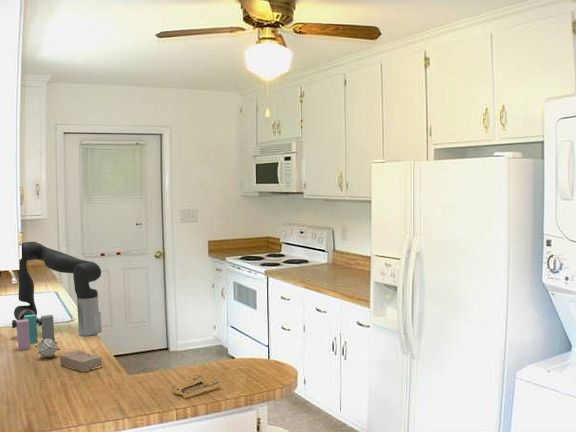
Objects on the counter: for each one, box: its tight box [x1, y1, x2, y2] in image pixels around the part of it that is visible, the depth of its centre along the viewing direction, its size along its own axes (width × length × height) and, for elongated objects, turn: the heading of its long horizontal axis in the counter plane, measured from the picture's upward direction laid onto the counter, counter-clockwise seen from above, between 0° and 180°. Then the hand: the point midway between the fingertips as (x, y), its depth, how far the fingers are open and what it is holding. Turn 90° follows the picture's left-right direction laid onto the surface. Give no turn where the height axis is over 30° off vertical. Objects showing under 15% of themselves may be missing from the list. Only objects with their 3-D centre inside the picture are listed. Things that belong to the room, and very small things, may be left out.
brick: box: [59, 349, 103, 371], centre depth 219 cm, size 17×8×5 cm, turn 52°
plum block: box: [16, 319, 31, 351], centre depth 248 cm, size 4×4×12 cm
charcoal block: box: [40, 314, 56, 342], centre depth 255 cm, size 4×4×12 cm
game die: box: [34, 337, 61, 360], centre depth 232 cm, size 9×8×10 cm
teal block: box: [24, 314, 38, 345], centre depth 258 cm, size 4×4×12 cm
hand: (29, 325), depth 262 cm, fingers open, 8 cm apart
